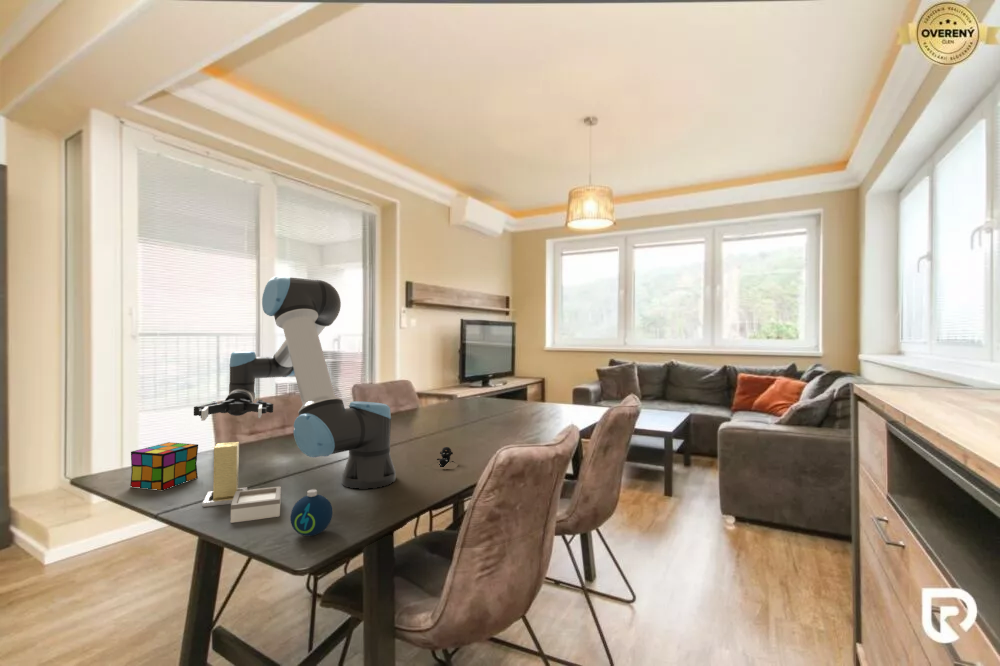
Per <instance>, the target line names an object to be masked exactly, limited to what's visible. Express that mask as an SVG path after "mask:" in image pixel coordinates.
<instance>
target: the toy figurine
mask: <svg viewBox="0 0 1000 666" xmlns="http://www.w3.org/2000/svg"><path fill="white" fill-rule="evenodd" d="M439 454H440V456H441V458H437V459H436V461H438V462H440V464H441V465H440V464H439V465H440V467H444V466H445V465H446V464H447V463H448V462H454V461H453V460H452V461H451V456H452V455H454V454H453V451H452V449H451V448H450V447H448V446H444V447H442V449H441V451H440V452H439ZM454 463H455V462H454Z"/></svg>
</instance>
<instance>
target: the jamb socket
mask: <svg viewBox="0 0 1000 666" xmlns="http://www.w3.org/2000/svg"><path fill="white" fill-rule="evenodd" d="M242 490H248V487H247V486H246V487H245V486H244V487H238V491H242ZM212 498H213V490H210V491H207V493H206V495H205V496H204V499H203V501H202V504H201V505H202V508H205V507H214V506H223V505H231V504H232V501H233V498H231V499H222V500H214V501H213V500H210V499H212Z"/></svg>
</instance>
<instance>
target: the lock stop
mask: <svg viewBox="0 0 1000 666" xmlns="http://www.w3.org/2000/svg"><path fill="white" fill-rule="evenodd" d="M213 448H214V449H213V486H212V487H213V488H212V489H213V490H212V491H213V496H212V501H214V500H222V499H231V498H234V495H235V492H236V491H238V488H239V468H240V467H239V460H240V457H239V455H240V442H239V441H231V442H218V443H216V444H215V446H214V447H213Z"/></svg>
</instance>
